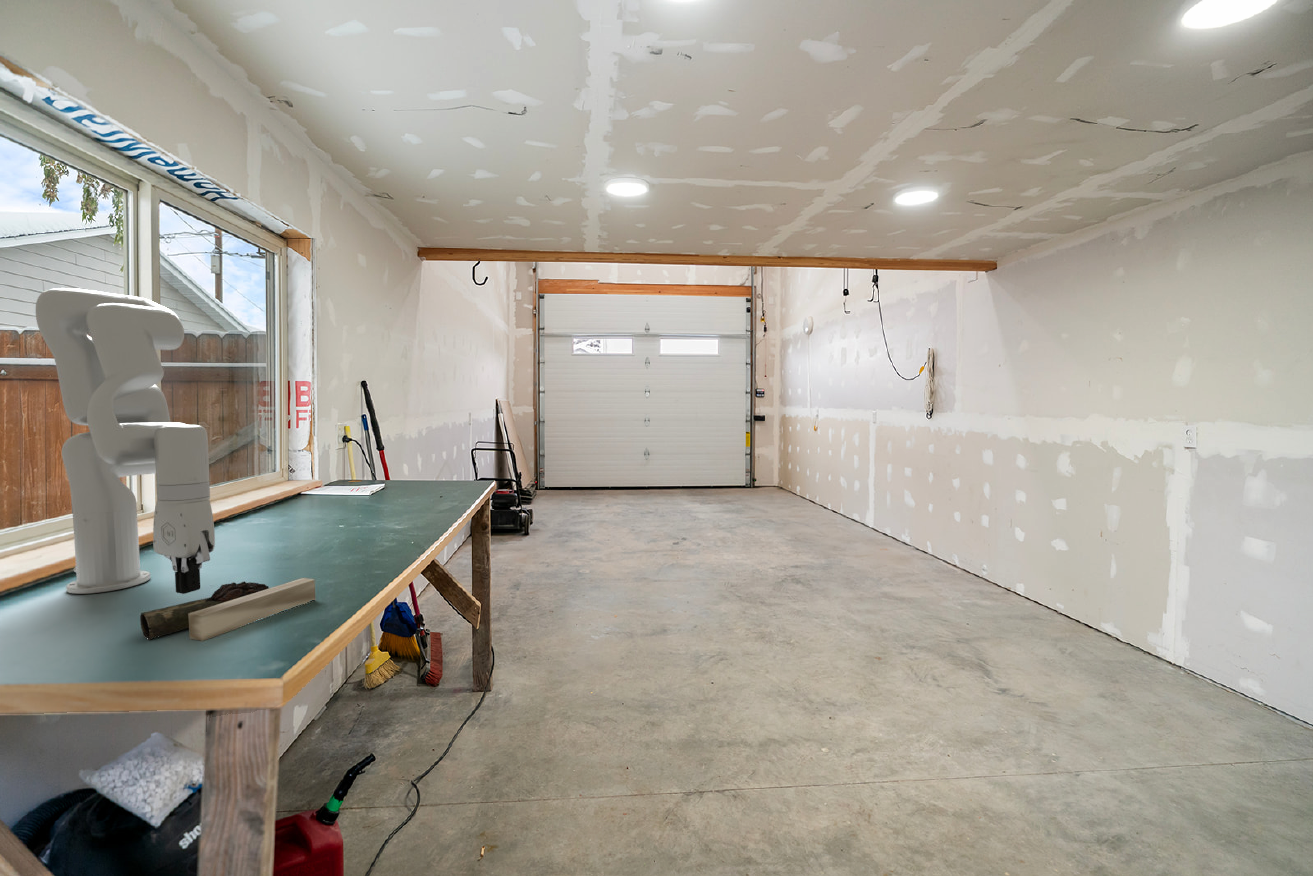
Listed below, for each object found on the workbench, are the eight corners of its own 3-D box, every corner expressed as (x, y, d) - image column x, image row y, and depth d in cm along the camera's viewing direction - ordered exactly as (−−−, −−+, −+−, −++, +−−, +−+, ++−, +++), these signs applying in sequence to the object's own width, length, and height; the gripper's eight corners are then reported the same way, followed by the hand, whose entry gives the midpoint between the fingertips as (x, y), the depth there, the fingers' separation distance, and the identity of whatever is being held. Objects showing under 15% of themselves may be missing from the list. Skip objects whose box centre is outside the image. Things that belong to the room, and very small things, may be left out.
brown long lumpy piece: (149, 644, 91) (146, 608, 91) (138, 634, 95) (135, 600, 95) (276, 611, 105) (274, 580, 105) (262, 603, 109) (260, 574, 109)
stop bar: (189, 638, 92) (188, 613, 92) (303, 598, 111) (303, 577, 111) (202, 641, 91) (201, 616, 91) (315, 600, 110) (314, 579, 110)
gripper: (133, 493, 105) (138, 592, 106) (189, 498, 100) (193, 603, 101) (179, 487, 112) (183, 580, 113) (233, 492, 107) (237, 589, 108)
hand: (188, 591), depth 107 cm, fingers closed
